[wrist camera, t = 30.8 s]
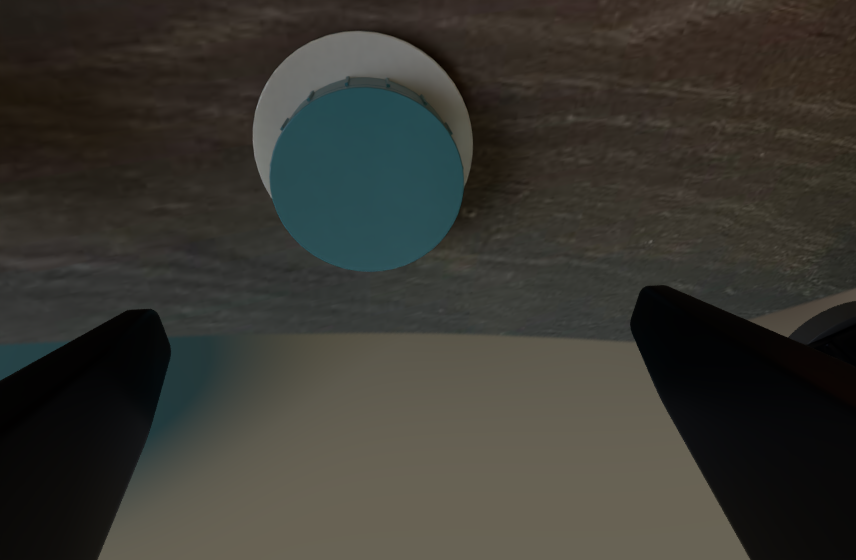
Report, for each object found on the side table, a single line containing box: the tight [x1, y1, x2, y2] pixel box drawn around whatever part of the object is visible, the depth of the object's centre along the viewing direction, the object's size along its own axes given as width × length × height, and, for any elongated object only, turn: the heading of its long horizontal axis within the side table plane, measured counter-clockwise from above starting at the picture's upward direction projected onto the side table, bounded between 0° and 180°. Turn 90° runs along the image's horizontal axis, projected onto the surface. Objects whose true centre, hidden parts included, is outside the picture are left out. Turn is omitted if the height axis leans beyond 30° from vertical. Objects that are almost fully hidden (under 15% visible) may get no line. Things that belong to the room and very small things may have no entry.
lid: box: [269, 76, 464, 272], centre depth 16 cm, size 7×7×2 cm
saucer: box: [253, 30, 473, 197], centre depth 17 cm, size 8×8×1 cm
